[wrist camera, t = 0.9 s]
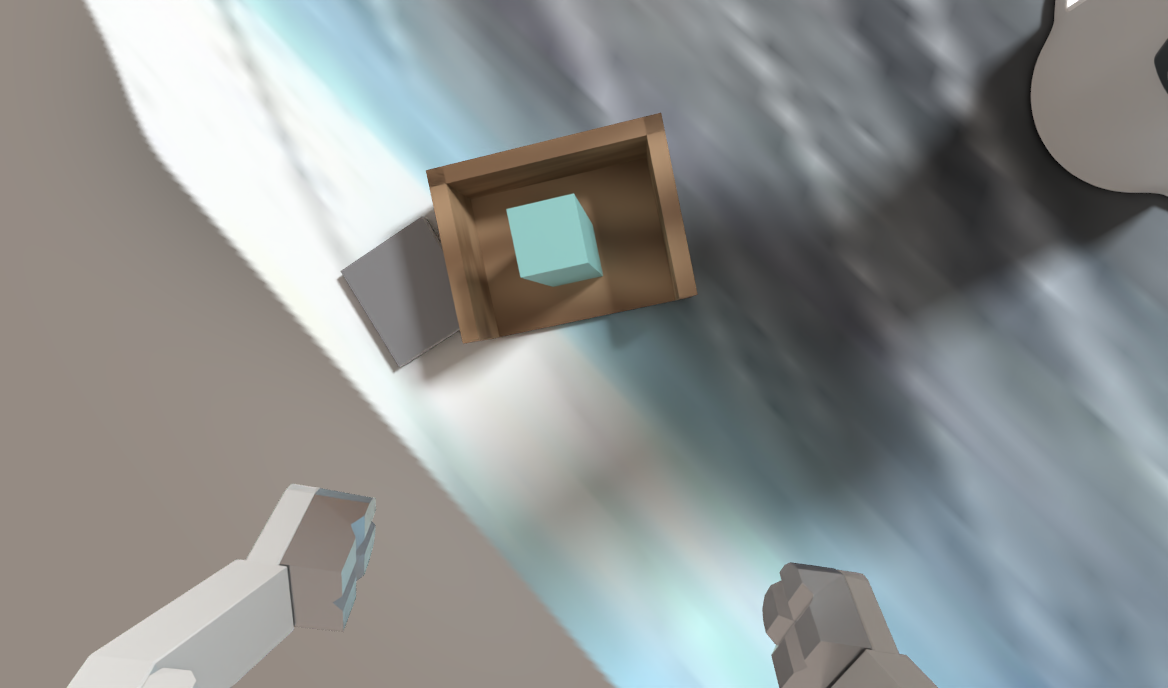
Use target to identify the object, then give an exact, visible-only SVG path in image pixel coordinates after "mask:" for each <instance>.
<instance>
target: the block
mask: <svg viewBox="0 0 1168 688" xmlns="http://www.w3.org/2000/svg"><path fill="white" fill-rule="evenodd" d="M506 210H507V215H508V220H509V225H510V229H511V234H512V239H513V244H514V248H515V253H516V258H517V263H518V267H519V272H520V277H521V278H524V279H527V280H531V281H534V282H538V283H541V284H545V285H548V286H552V287H555V286H559V285H564V284H569V283H573V282H578V281H583V280H587V279H592V278H596V277H601V276H603V272H602V267H601V263H600V258H599V253H598V248H597V243H596V238H595V233H594V229H593V224H592V223H591V221H590V219H589V218H588V216H587V214H586V213H585V211H584V209H583V208H582V206H581V204H580V203H579V201H578V199H577V198H576V196H575V194H574V193H573V194H569V195H565V196H561V197H556V198H552V199H548V200H543V201H539V202H535V203H531V204H526V205H522V206H518V207H514V208H509V209H506Z"/></svg>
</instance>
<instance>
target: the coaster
mask: <svg viewBox="0 0 1168 688" xmlns="http://www.w3.org/2000/svg"><path fill="white" fill-rule="evenodd" d="M341 273H342V274H343V276H344V278H345V279H346V281H347V283H348V284H349V286H350V288H351V289H352V291H353V292H354V294H355V296H356V297H357V299H358V301H359V302H360V304H361V306H362V307H363V309H364V310H365V312H366V314H367V315H368V317H369V319H370V320H371V322H372V324H373V325H374V327H375V328H376V330H377V332H378V333H379V335H380V337H381V338H382V340H383V342H384V343H385V345H386V346H387V348H388V350H389V351H390V353H391V355H392V356H393V358H394V360H395V361H396V363H397V364H398V366H399V367H400V366H404V365H406V364H407V363H409V362H410V361H412V360H414V359H415V358H417V357H418V356H420V355H421V354H423V353H424V352H426V351H428V350H429V349H431V348H432V347H434V346H435V345H437V344H439V343H440V342H442V341H443V340H445V339H446V338H448V337H450V336H451V335H453V334H454V333H456V332H457V331H459V330H460V328H459V323H458V318H457V314H456V309H455V304H454V300H453V295H452V290H451V286H450V281H449V276H448V272H447V267H446V262H445V258H444V253H443V248H442V244H441V242H440V240H439V239H438V237H437V236H436V234H435V232H434V231H433V229H432V227H431V226H430V224H429V222H428V221H427V219H425V218H423V217H421V218H419V219H418V220H416V221H415V222H413V223H412V224H410V225H409V226H407V227H406V228H404V229H403V230H401V231H400V232H398V233H397V234H395V235H394V236H392V237H391V238H389V239H388V240H386V241H385V242H383V243H382V244H380V245H379V246H377V247H376V248H374V249H373V250H371V251H370V252H368V253H367V254H365V255H364V256H362V257H361V258H360V259H358V260H357V261H355V262H354V263H352V264H351V265H349V266H348V267H346V268H345V269H343V270H342V271H341Z"/></svg>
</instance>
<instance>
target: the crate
mask: <svg viewBox="0 0 1168 688" xmlns="http://www.w3.org/2000/svg"><path fill="white" fill-rule="evenodd" d="M426 173H427V178H428V183H429V187H430V192H431V197H432V201H433V206H434V211H435V215H436V220H437V225H438V230H439V234H440V239H441V244H442V248H443V253H444V258H445V262H446V267H447V272H448V276H449V281H450V286H451V290H452V295H453V300H454V304H455V309H456V314H457V318H458V323H459V328H460V332H461V337H462V342H463V344H464V343H470V342H476V341H482V340H488V339H493V338H498V337H503V336H507V335H512V334H517V333H522V332H526V331H531V330H536V329H541V328H546V327H550V326H555V325H560V324H565V323H570V322H574V321H579V320H584V319H589V318H593V317H598V316H603V315H608V314H613V313H617V312H622V311H627V310H632V309H637V308H641V307H646V306H651V305H656V304H660V303H665V302H670V301H675V300H680V299H684V298H689V297H692V296H695V295H698V294H697V289H696V284H695V279H694V274H693V269H692V264H691V259H690V254H689V249H688V244H687V239H686V234H685V229H684V224H683V219H682V214H681V209H680V204H679V200H678V195H677V190H676V185H675V180H674V175H673V170H672V165H671V160H670V155H669V150H668V145H667V140H666V135H665V130H664V125H663V120H662V115H661V113H658V114H654V115H650V116H646V117H642V118H638V119H633V120H629V121H625V122H621V123H617V124H613V125H609V126H605V127H601V128H597V129H593V130H589V131H585V132H580V133H576V134H572V135H568V136H564V137H560V138H556V139H552V140H548V141H544V142H540V143H536V144H532V145H527V146H523V147H519V148H515V149H511V150H507V151H503V152H499V153H495V154H491V155H487V156H483V157H479V158H475V159H470V160H466V161H462V162H458V163H454V164H450V165H446V166H442V167H438V168H434V169H430V170H426ZM573 193H574V194H575V196H576V198H577V199H578V201H579V203H580V204H581V206H582V208H583V209H584V211H585V213H586V214H587V216H588V218H589V219H590V221H591V223H592V224H593V229H594V233H595V238H596V243H597V248H598V253H599V258H600V263H601V267H602V272H603V276H601V277H596V278H592V279H587V280H583V281H578V282H573V283H569V284H564V285H559V286H555V287H552V286H548V285H545V284H541V283H538V282H534V281H531V280H527V279H524V278H521V277H520V272H519V267H518V263H517V258H516V253H515V248H514V244H513V239H512V234H511V229H510V225H509V220H508V215H507V210H506V209H509V208H514V207H518V206H522V205H526V204H531V203H535V202H539V201H543V200H548V199H552V198H556V197H561V196H565V195H569V194H573Z"/></svg>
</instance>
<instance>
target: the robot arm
mask: <svg viewBox="0 0 1168 688" xmlns="http://www.w3.org/2000/svg"><path fill="white" fill-rule="evenodd" d="M1031 107H1032V113H1033V118H1034V122H1035V125H1036V128H1037V131H1038V133H1039V135H1040V137H1041V140H1042V141H1043V143H1044V145H1045V146H1046V148H1047V149H1048V151H1049V152H1050V154H1051V155H1052V156H1053V157H1054V158H1055V159H1056V161H1057V162H1058V163H1059V164H1060V165H1062V166H1063V167H1064V168H1065V169H1066V170H1067V171H1069V172H1070V173H1071V174H1073V175H1074V176H1076V177H1078V178H1079V179H1081V180H1083V181H1085V182H1087V183H1089V184H1092V185H1094V186H1097V187H1100V188H1104V189H1107V190H1112V191H1118V192H1128V193H1157V194H1163V195H1165V196H1168V0H1056V1H1055V14H1054V24H1053V27H1052V30H1051V32H1050V34H1049V36H1048V38H1047V40H1046V42H1045V44H1044V46H1043V48H1042V50H1041V52H1040V55H1039V57H1038V60H1037V62H1036V65H1035V69H1034V73H1033V78H1032V84H1031ZM375 511H376V498H371V497H366V496H360V495H355V494H349V493H344V492H338V491H332V490H327V489H321V488H316V487H309V486H304V485H298V484H291V485H290V486H289V487H288V488H287V489H286V490H285V491H284V493H283V495H282V496H281V498H280V500H279V502H278V503H277V505H276V507H275V508H274V510H273V512H272V514H271V516H270V517H269V519H268V521H267V523H266V524H265V526H264V528H263V530H262V531H261V533H260V535H259V537H258V538H257V540H256V542H255V544H254V545H253V547H252V549H251V551H250V552H249V554H248V556H247V558H246V559H245V560H240V559H236V560H235V561H233V562H231V563H230V564H228V565H227V566H226V567H224V568H222V569H221V570H219V571H218V572H216V573H215V574H213V575H211V576H210V577H208V578H207V579H205V580H204V581H202V582H201V583H199V584H198V585H196V586H195V587H193V588H192V589H190V590H189V591H187V592H186V593H184V594H183V595H181V596H179V597H178V598H176V599H175V600H173V601H172V602H170V603H169V604H167V605H166V606H164V607H163V608H161V609H160V610H158V611H156V612H155V613H153V614H152V615H150V616H149V617H148V618H146V619H144V620H143V621H141V622H140V623H138V624H137V625H135V626H134V627H132V628H131V629H129V630H127V631H126V632H124V633H123V634H121V635H120V636H118V637H117V638H115V639H114V640H112V641H111V642H109V643H108V644H106V645H105V646H103V647H102V648H100V649H98V650H97V651H95V652H94V653H93V654H91V655H90V656H89V657H88V659H87V660H86V661H85V663H84V664H83V665H82V667H81V668H80V670H79V671H78V672H77V674H76V675H75V677H74V678H73V679H72V681H71V682H70V684H69V685H68V687H67V688H231V687H232V686H233V685H234V684H236V683H237V682H238V681H239V680H240V679H241V678H242V677H243V676H244V675H245V674H246V673H248V672H249V671H250V670H251V669H252V668H253V667H254V666H255V665H256V664H257V663H258V662H259V661H260V660H262V659H263V658H264V657H265V656H266V655H267V654H268V653H269V652H270V651H271V650H273V649H274V648H275V647H276V646H277V645H278V644H279V643H280V642H281V641H282V640H283V639H285V637H287V636H288V635H289V634H290V633H291V632H292V631H293V630H294V627H303V628H312V629H322V630H331V631H341V632H343V631H344V628H345V626H346V622H347V620H348V617H349V615H350V612H351V609H352V607H353V604H354V601H355V599H356V581H357V580H358V579H360V578H361V577H362V576H364V574H365V571H366V568H367V566H368V563H369V560H370V556H371V552H372V548H373V544H374V537H375V524H374V523H373V522H372V519H373V516H374V513H375ZM780 576H781V579H782V580H781V581H779V582H777V583H775V584H773V585H771V586H770V588H769V589H768V591H767V593H766V594H765V597H764V603H763V622H764V626H765V631H766V633H767V635H768V636H769V637H770V638H771V639H772V641H773V642H774V643H775V644H776V646H775V648H774V651H773V653H772V655H771V656H772V660H773V664H774V668H775V672H776V676H777V680H778V684H779V688H938V687H937V686H936V685H935V684H934V683H933V682H932V681H931V680H930V679H929V678H928V677H927V676H926V675H925V674H924V673H923V672H922V671H921V670H920V669H919V668H918V667H917V665H916V664H915V663H914V662H913V661H912V660H911V659H910V658H909V657H908V656H907V655H903V654H899V652H898V650H897V647H896V645H895V642H894V640H893V638H892V635H891V633H890V631H889V628H888V626H887V624H886V621H885V619H884V617H883V614H882V612H881V609H880V607H879V605H878V602H877V600H876V598H875V595H874V593H873V591H872V588H871V586H870V584H869V581H868V579H867V578H866V577H865V576H864V575H863V574H861V573H856V572H849V571H842V570H836V569H834V568H827V567H820V566H813V565H806V564H798V563H788V564H786V565H784V567H783V568H782V570H781V571H780Z"/></svg>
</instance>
